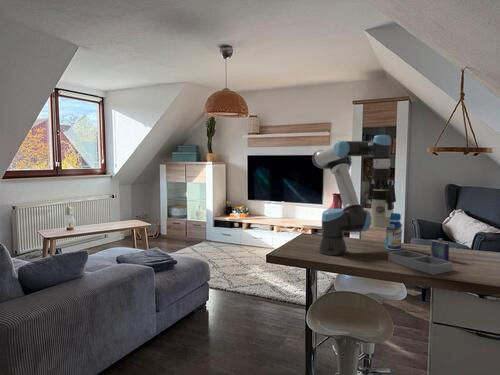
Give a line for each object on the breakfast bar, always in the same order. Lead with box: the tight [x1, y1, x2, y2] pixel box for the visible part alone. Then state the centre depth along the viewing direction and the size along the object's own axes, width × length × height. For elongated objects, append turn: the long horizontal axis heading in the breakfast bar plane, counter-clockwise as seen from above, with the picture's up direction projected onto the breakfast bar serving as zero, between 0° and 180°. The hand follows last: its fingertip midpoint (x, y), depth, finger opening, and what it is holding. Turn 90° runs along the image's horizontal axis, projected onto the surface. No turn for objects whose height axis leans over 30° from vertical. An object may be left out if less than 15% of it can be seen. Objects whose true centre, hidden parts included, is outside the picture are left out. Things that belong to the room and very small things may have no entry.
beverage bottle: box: [385, 212, 403, 251], centre depth 186 cm, size 8×8×20 cm
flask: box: [430, 238, 450, 262], centre depth 165 cm, size 9×3×11 cm, turn 24°
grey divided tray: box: [387, 249, 453, 276], centre depth 156 cm, size 24×13×4 cm, turn 25°
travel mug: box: [371, 188, 390, 229], centre depth 157 cm, size 8×8×18 cm
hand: (380, 215), depth 157 cm, fingers closed on travel mug, 8 cm apart
